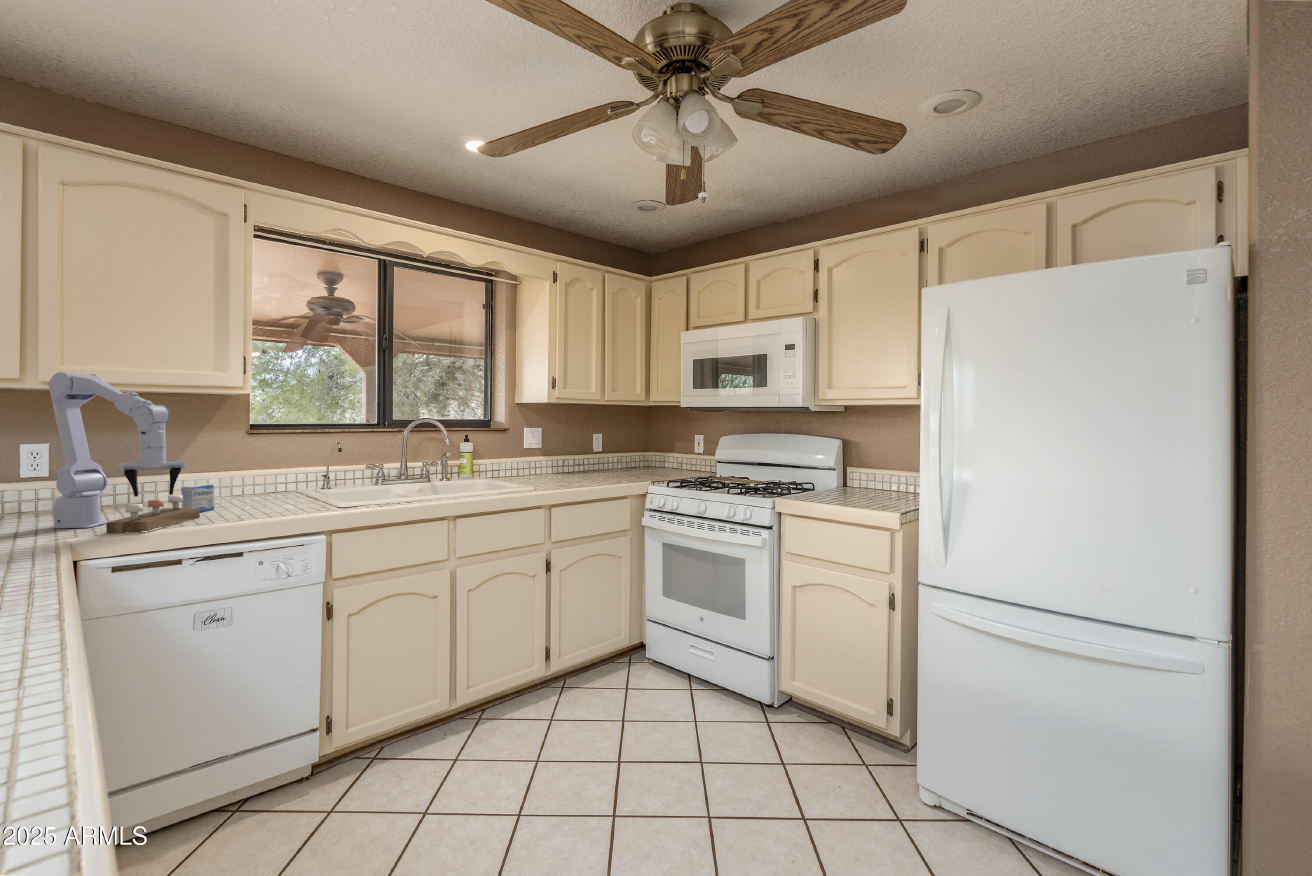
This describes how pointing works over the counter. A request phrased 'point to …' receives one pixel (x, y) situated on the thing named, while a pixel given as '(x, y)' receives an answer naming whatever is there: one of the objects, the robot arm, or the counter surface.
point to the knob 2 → (175, 501)
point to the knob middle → (156, 505)
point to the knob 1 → (133, 510)
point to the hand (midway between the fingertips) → (154, 495)
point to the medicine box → (198, 497)
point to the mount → (152, 520)
